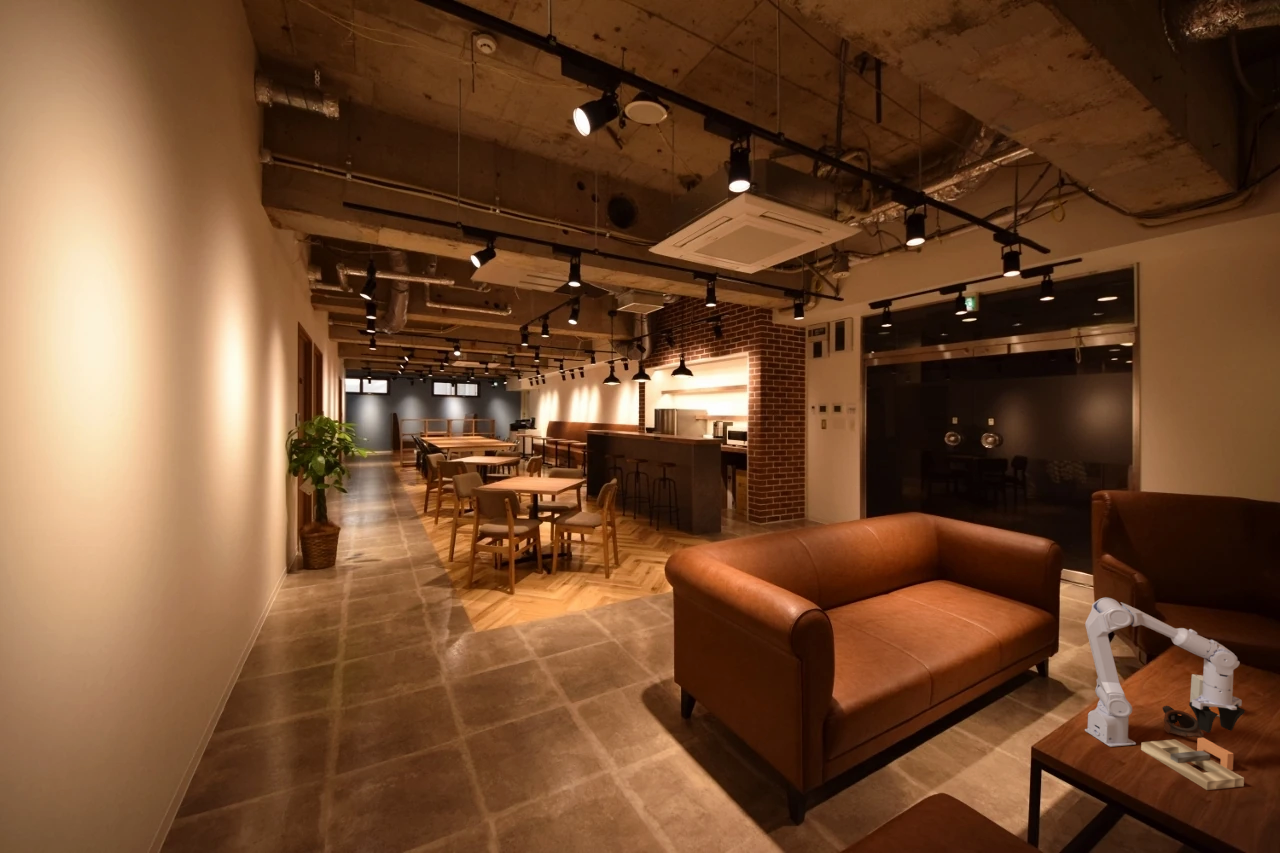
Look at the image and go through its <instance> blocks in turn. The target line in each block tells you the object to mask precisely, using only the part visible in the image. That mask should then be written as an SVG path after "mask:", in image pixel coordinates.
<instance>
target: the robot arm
mask: <svg viewBox="0 0 1280 853" xmlns="http://www.w3.org/2000/svg"><path fill="white" fill-rule="evenodd" d="M1130 625H1131V627H1138V626H1144V627H1145V628H1148V629H1151V630H1153V631H1155V632H1156V633H1159V634H1162V635H1164V636H1165V637H1168V638H1170V640H1171V642H1172V643H1173V644H1174V645H1175V646H1177V647H1180V648H1182V649H1184V650H1185V651H1187V652H1190V653H1192V654H1194V655H1195V656H1198V657H1199V658H1203V671H1202V672H1203V674H1202V676H1203V691H1202V695H1200V696H1199V697H1197V698H1196V699H1192V702H1190V701H1189V703H1188V704H1189V707H1190V709H1191V710H1192V711H1193V713H1194V716H1195V719H1196V720H1197V721H1198V724H1199V728H1200V729H1202V732H1206V733H1209V734H1210V733H1211V731H1212V729H1213V723H1214V721H1215V719H1216V718H1217V717H1218V716H1217V715H1218V714H1217V713H1214V712H1212V711H1211V709H1209V707H1218V710H1219V714H1220V717H1219V723H1220V726H1221V728H1223V729H1226V730H1227V731H1229V732H1231V731H1233V729H1234V727H1235V725H1236V723H1237V721H1238V720H1239V719H1240V717H1241V716H1242V715H1244V714H1245V709H1244V708H1242V704H1243V701H1242V699H1240V698H1239V697H1237V696H1233V694H1234V689H1233V688H1234V686H1233V685H1234V671H1235V669H1237V668H1239V666H1240V662H1241V661H1239V660H1238V656H1237V655H1235V653H1234V652H1232V651H1231V650H1230V649H1228V648H1227V647H1225V646H1224V645H1223V644H1221V643H1219V641H1216V640H1214V639H1208V638H1205V637H1203V636H1201V635H1199V634H1198V632H1197V631H1196V630H1194V629H1192V628H1189V629H1187V628H1184V627H1179V628H1175V627H1173V626H1171V625H1169V624H1168V623H1165V622H1163V621H1161V620H1159V619H1157V618H1156V617H1153V616H1151V615H1149V614H1148V613H1145V612H1143V611H1141V610H1140V609H1138V608H1135V607H1134V606H1133V607H1132V606H1131V605H1129V604H1127V603H1124V602H1120V603H1119V601H1117V600H1116V599H1114V598H1111V597H1102V598H1099V599H1098V600H1096V601H1094V602H1093V603H1092V604H1091V610H1090V612H1089V614H1088V616H1087V618H1086V620H1085V624H1084V627H1085V629H1086V634H1087V638H1088V641H1089V646H1090V650H1091V654H1092V659H1093V663H1094V667H1095V671H1096V675H1097V678H1096V680H1095V681H1096V687H1095V695H1096V696H1097V698H1098V699H1099V700H1098V702H1097V705H1096V708H1094V709H1093V710H1090V711H1089V712H1088V714H1087V728H1085V729H1084V731H1085V733H1088V734H1089V735H1091V736H1092V737H1094V738H1096V740H1099V741H1100V742H1102V743H1104V744H1105V745H1107V746H1108V747H1111V748H1112V747H1121V746H1123V747H1124V746H1133V745H1136V744H1137V743H1136V742H1135V741H1134V740H1132V739H1130V738H1129V716H1130V715H1131V714H1132V713H1133V707H1132V704H1131V703H1130V702H1129V701H1128V699H1127V698H1126V694H1125V692H1124V690H1123V688H1122V685H1121V683H1120V679H1119V676H1118V671H1117V667H1116V663H1115V659H1114V655H1113V651H1112V647H1111V642H1110V638H1109V634H1110V633H1112V632H1113V631H1117V630H1120V629H1123V628H1126V627H1128V626H1130Z"/></svg>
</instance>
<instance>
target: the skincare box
mask: <svg viewBox="0 0 1280 853" xmlns="http://www.w3.org/2000/svg"><path fill="white" fill-rule="evenodd" d="M1202 691H1203V674H1202V675H1200V674H1193V673H1192V674H1191V680H1190V695H1189V696H1190V697H1189V698H1190V699H1189V702H1192V699H1196V698H1197V697H1199V696H1200V695H1202ZM1209 709H1211V711H1212V712H1214V713H1217V714H1218V715H1217V716H1216V717H1219V718H1220V714H1219V710H1218V707H1209Z"/></svg>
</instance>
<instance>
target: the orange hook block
mask: <svg viewBox="0 0 1280 853" xmlns="http://www.w3.org/2000/svg"><path fill="white" fill-rule="evenodd" d="M1196 741H1197V742H1196V743H1197V746H1196V751H1204V752H1206V753H1208V754H1209V755H1213V756H1214V757H1216V758H1218V759H1220V763H1219V764H1220V765H1222V766H1224V767H1225V768H1227V769H1229V770H1231V771H1233V770H1234V753H1233V752H1232V751H1230V750H1227V749H1225V748H1223V747H1222V746H1220V745H1217V744H1216V743H1214V742H1212V741H1210V740H1208V739H1206V738H1205V737H1203V738H1202V737H1197V740H1196Z"/></svg>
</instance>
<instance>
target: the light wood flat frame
mask: <svg viewBox="0 0 1280 853" xmlns="http://www.w3.org/2000/svg"><path fill="white" fill-rule="evenodd" d="M1140 745H1141V747H1140V750H1141V751H1142V752H1144V753H1145V754H1147V755H1148V756H1150V757H1152V758H1153V759H1155V760H1157V761H1159V762H1160V763H1162V764H1164V765H1166V767H1169V768H1170V769H1172V770H1174V772H1176V773H1178V774H1180V775H1181V776H1183V777H1185V778H1186V779H1189V781H1191V782H1193V783H1195V784H1197V785H1198V786H1200V787H1202V788H1203V789H1204V790H1206V791H1210V790H1212V791H1213V790H1221V789H1230V788H1239V787H1245V785H1244V784H1245V778H1244V776H1241V775H1239V773H1236V772H1234V771H1233V770H1229V769H1227V768H1225V767H1224V766H1222V765H1220V763H1218V762H1216V761H1215V760H1214V759H1213V760H1212V759H1211V754H1210V753H1209V754H1208V753H1206V752H1204V751H1197V750H1195V749H1193V748H1191V747H1190V746H1188V745H1186V744H1184V743H1183V742H1180V741H1179V740H1177V739H1165V740H1151V741H1143V742H1142V741H1141V744H1140ZM1189 763H1192V764H1194V765H1195V766H1198V767H1199V768H1200V769H1202V770H1204V771H1205V772H1202V771H1200V770H1199V769H1197V768H1196V767H1194V766H1192V765H1191V764H1189Z"/></svg>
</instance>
